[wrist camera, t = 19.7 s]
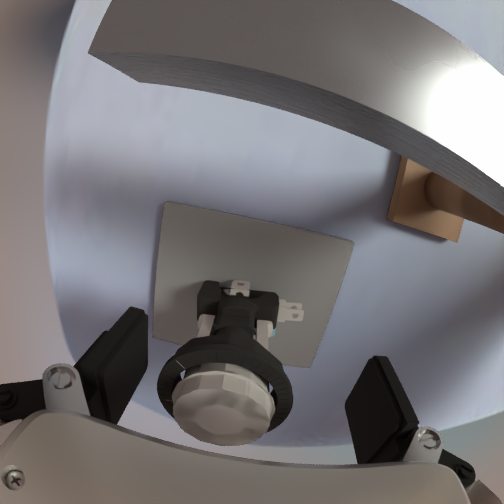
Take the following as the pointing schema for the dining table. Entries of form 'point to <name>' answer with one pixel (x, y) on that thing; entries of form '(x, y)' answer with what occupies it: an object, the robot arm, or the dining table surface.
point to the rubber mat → (247, 273)
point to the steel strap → (328, 73)
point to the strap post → (436, 203)
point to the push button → (230, 367)
